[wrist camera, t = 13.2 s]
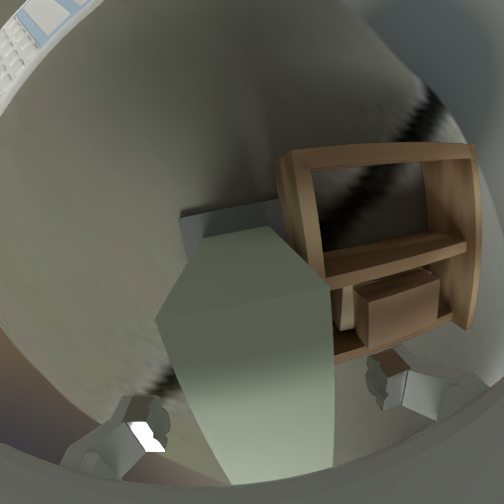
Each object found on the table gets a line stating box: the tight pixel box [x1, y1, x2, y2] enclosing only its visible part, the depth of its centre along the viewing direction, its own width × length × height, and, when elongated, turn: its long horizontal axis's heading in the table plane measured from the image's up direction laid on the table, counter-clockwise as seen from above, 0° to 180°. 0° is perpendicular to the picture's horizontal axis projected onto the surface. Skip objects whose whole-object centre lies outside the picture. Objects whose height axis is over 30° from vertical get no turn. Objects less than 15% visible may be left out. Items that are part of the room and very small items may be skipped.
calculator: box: [0, 0, 104, 117], centre depth 12 cm, size 13×20×2 cm, turn 132°
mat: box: [179, 199, 287, 261], centre depth 19 cm, size 12×7×1 cm, turn 10°
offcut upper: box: [353, 269, 440, 349], centre depth 17 cm, size 4×6×2 cm, turn 101°
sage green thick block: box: [155, 226, 335, 485], centre depth 13 cm, size 4×9×12 cm, turn 10°
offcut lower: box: [330, 267, 432, 331], centre depth 19 cm, size 4×8×3 cm, turn 94°
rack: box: [272, 142, 482, 364], centre depth 17 cm, size 14×14×6 cm
